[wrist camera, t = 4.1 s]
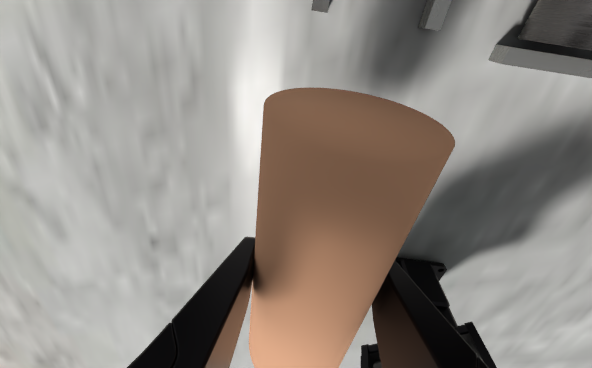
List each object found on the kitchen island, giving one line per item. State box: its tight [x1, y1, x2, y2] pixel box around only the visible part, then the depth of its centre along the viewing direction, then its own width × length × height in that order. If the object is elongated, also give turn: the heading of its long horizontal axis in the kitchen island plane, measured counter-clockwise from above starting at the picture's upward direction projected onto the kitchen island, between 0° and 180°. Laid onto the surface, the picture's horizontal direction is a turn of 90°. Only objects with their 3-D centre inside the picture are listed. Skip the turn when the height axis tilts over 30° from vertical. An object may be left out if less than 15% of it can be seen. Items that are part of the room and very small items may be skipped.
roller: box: [249, 88, 455, 368], centre depth 8 cm, size 10×4×4 cm, turn 172°
